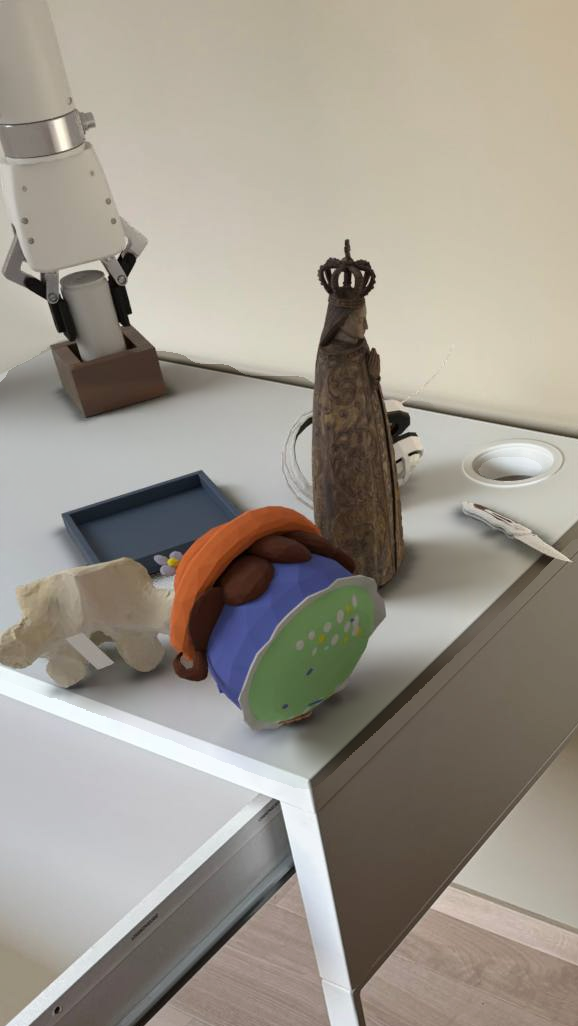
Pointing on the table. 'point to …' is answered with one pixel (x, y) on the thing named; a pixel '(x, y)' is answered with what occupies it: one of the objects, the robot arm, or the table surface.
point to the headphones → (404, 445)
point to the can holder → (110, 374)
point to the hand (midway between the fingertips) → (96, 328)
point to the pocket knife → (510, 528)
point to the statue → (353, 432)
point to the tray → (150, 521)
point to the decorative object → (89, 618)
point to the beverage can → (92, 314)
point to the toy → (266, 615)
